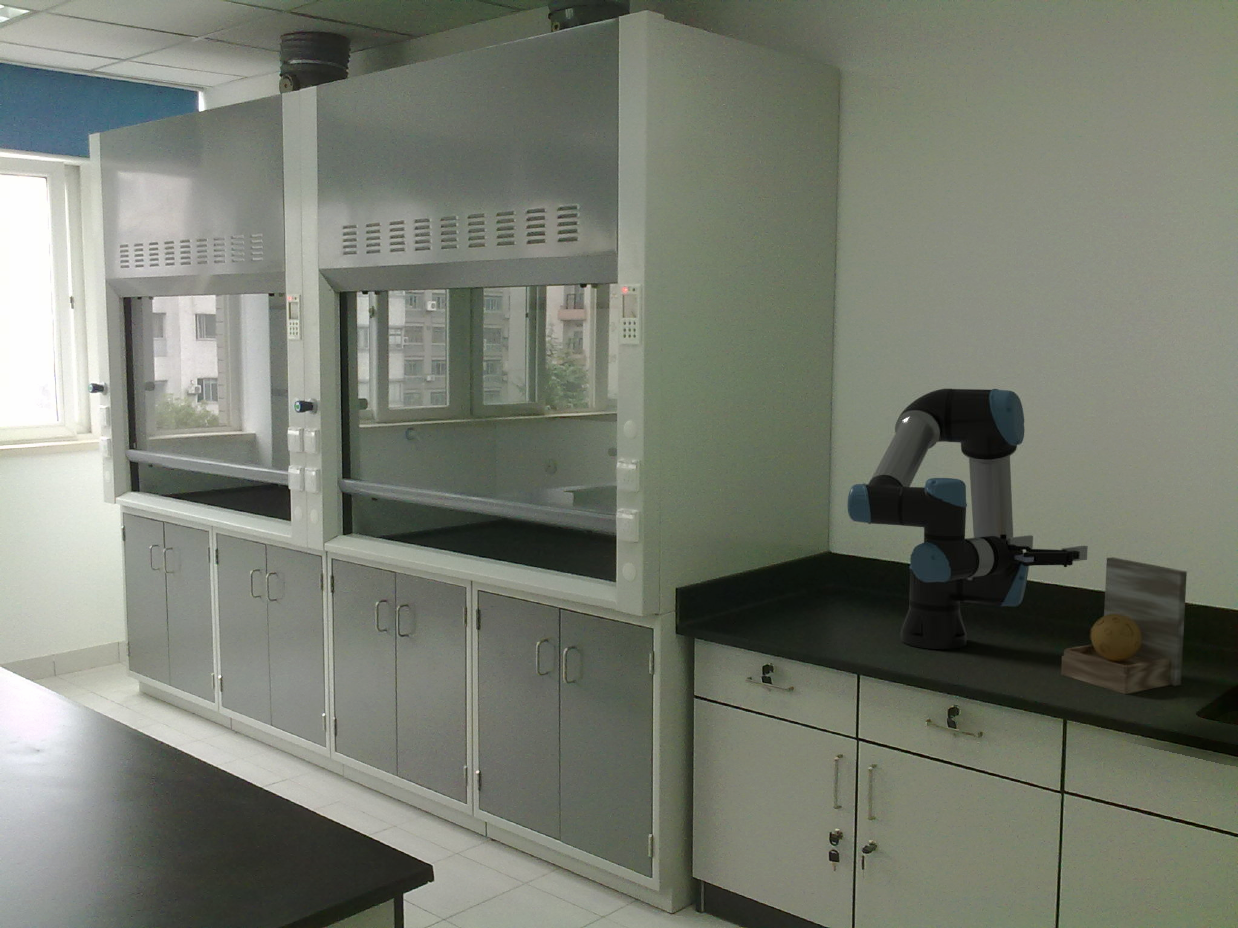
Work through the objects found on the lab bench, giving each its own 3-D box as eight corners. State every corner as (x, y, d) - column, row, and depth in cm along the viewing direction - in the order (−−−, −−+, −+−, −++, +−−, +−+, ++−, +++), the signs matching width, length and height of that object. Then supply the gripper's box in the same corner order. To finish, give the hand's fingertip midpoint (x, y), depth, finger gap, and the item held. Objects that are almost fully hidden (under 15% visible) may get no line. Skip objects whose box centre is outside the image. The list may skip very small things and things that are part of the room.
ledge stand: (1129, 695, 234) (1134, 578, 232) (1057, 673, 250) (1062, 563, 247) (1180, 684, 242) (1186, 571, 239) (1107, 663, 257) (1112, 557, 255)
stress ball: (1113, 657, 251) (1077, 627, 251) (1148, 627, 247) (1112, 597, 248) (1119, 677, 242) (1082, 646, 242) (1155, 646, 238) (1118, 614, 238)
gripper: (934, 564, 236) (1009, 555, 246) (1031, 587, 214) (1109, 576, 224) (935, 528, 235) (1010, 520, 245) (1032, 547, 213) (1111, 538, 223)
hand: (1058, 547), depth 235 cm, fingers open, 13 cm apart
